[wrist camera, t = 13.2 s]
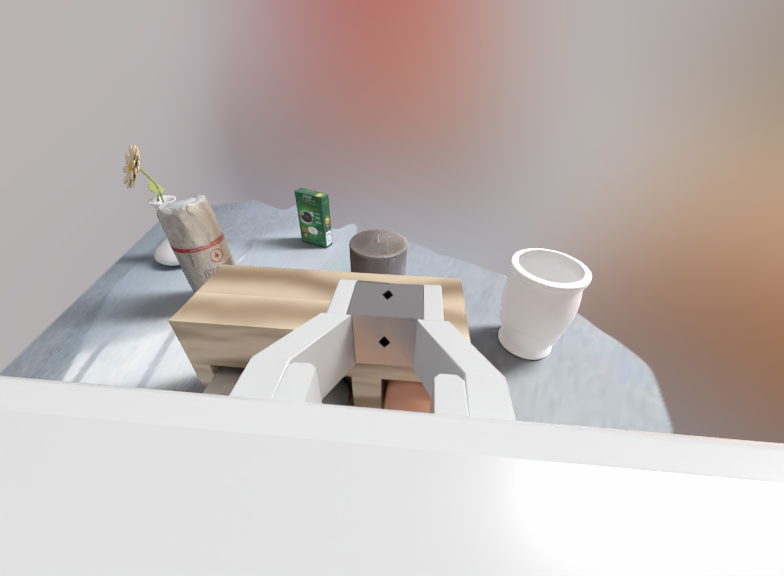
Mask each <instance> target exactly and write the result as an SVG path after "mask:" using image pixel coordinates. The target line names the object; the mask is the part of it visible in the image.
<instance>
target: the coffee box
mask: <svg viewBox="0 0 784 576" xmlns="http://www.w3.org/2000/svg"><path fill="white" fill-rule="evenodd" d="M295 196H296V203H297V210H298V217H299V223H300V229H301V236H302V241H305V242H308V243H312V244H315V245H319V246H321V247H325V248H327V247H329V246H330V245H331V244H332V234H331V223H330V210H329V198H328V194H325V193H320V192H316V191H312V190H308V189H304V188H300V189H298V190H295Z"/></svg>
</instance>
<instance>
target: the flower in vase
mask: <svg viewBox="0 0 784 576" xmlns="http://www.w3.org/2000/svg"><path fill="white" fill-rule="evenodd" d="M129 154H130V156H129ZM129 154H128V153H126V155H125V158H126V164H127V166H126V167H124V169H123V172H124V173H127V175H126V176H125V179H124V184H126V182H127V188H129V187H130V188H131V187H133V186H134V184H135V182H136V179H137V176H138V172H139V170H140V171H142V172H143V173H144V174H145V175H146V176H147V177H148V178H149V179H150V181H149V184H148V188H149V189H150V190H151V191H153V192H154V193H156V194H158V196H157V197H155V198H152V199H150V200H149V201H148V203H149V204H150V205H152V206H153V207H155V208H156V209H157V208H158V207H159V206H160V205H161V204H164V203H174V202H175V200H176V197H174V196H162V193H163V192H164V188H162V187H161V186H160V185H158V184H157V183H155V181H154V180H153V179H152V178H151V177H150V176H149V175H148V174H147V173H146V172H144V171H143V170H142V169H141V168H140V167H139V165H140V155H139V150H138V148H137V147H136V146H135V145H134V147H133V148H132V147H131V145H130V146H129ZM159 195H160V196H159ZM154 257H155V260H156V261H157V262H159V263H161V264H163V265H170V266H175V265H179V262H178V260H177V258H176V256H175V254H174V252H173V250H172V248H171V246H170V244H169V241H168V238H167V237H166V238H165V239H164V240H163V242H162V243H161V244H160V245H159V246H158V248H157V249H156V251H155V254H154Z"/></svg>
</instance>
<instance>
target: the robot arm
mask: <svg viewBox="0 0 784 576" xmlns="http://www.w3.org/2000/svg"><path fill="white" fill-rule="evenodd" d="M355 363H366V364H385V365H394V366H404V367H413V369H414V371H415V372H416V374H417V376H418V377H419V379H420V381H421V382H422V384H423V386H424V387H425V389H426V391H427V392H428V394H429V396H430V397H431V405H430V411H429V413H424V412H412V411H401V410H389V409H378V408H366V407H355V406H343V405H332V404H322V399H323V398H324V397H325V396H326V395H327V394H328V393H329V392H330V391H331V390H332V389H333V388H334V387H335V385H336V384H337V383H338V382H339V381H340V380H341V379H342V378H343V377H344V376H345V375H346V374H347V373H348V372H349V371H350V370H351V369H352V368H353V366H354V365H355ZM0 576H784V444H782V443H770V442H759V441H746V440H735V439H724V438H713V437H701V436H690V435H678V434H666V433H655V432H643V431H632V430H620V429H609V428H597V427H586V426H574V425H562V424H551V423H539V422H528V421H516V418H515V414H514V410H513V406H512V402H511V398H510V394H509V390H508V386H507V382H506V378H505V377H504V376H503V375H502V374H501V373H500V372H499V371H498V370H497V369H496V368H495V367H494V366H493V365H492V364H491V363H490V362H489V361H488V360H487V359H486V358H485V357H484V356H483V355H482V354H481V353H480V352H479V351H478V350H477V349H476V348H475V347H474V346H473V345H472V344H471V343H470V342H469V341H468V340H467V339H466V338H465V337H464V336H463V335H462V334H461V333H460V332H459V331H458V330H457V329H456V328H455V327H454V326H453V325H452V324H451V323H450V322H449V321H444V315H443V301H442V287H441V285H416V284H395V283H386V282H374V281H362V280H358V281H357V280H347V279H341V280H340V281H339V282H338V284H337V287H336V289H335V292H334V294H333V297H332V299H331V302H330V304H329V307H328V309H327V312H326V313H320V314H318V315H317V316H315V317H314V318H312V319H311V320H309V321H308V322H306V323H304V324H303V325H301V326H300V327H298V328H297V329H295V330H294V331H292V332H290V333H289V334H287V335H286V336H284V337H283V338H281V339H279V340H278V341H276V342H275V343H273V344H272V345H270V346H269V347H267V348H265V349H264V350H262V351H261V352H259V353H258V354H256V355H255V356H253V357H252V358H251V359H250V361H249V363H248V364H247V366H246V368H245V369H244V371H243V373H242V375H241V376H240V378H239V380H238V381H237V383H236V385H235V387H234V388H233V390H232V392H231V393H230V395H229V396H227V395H215V394H203V393H192V392H181V391H169V390H158V389H146V388H134V387H123V386H111V385H100V384H88V383H77V382H65V381H54V380H42V379H30V378H19V377H7V376H0Z"/></svg>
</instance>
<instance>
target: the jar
mask: <svg viewBox="0 0 784 576" xmlns="http://www.w3.org/2000/svg"><path fill="white" fill-rule="evenodd" d="M511 268H512V270H511V272H510V274H509V276H508V278H507V280H506V282H505V285H504V288H503V292H502V298H501V312H500V322H501V328H500V329H499V332H498V338H499V341H500V343H501V344H502V345H503V347H504V348H505V349H506V350H508V351H509V352H510V353H512V354H514V355H516V356H518V357H521V358H524V359H530V360H537V359H542V358H544V357H546V356H547V355H548V354H549V353H550V351H551V345H553V344H554V343H555V342H556V341H557V340H558V339H559V338H560V337H561V335H562V334H563V333H564V331H565V330H566V329H567V327H568V326H569V325H570V323H571V322H572V320H573V319H574V317H575V315H576V313H577V310H578V308H579V305H580V301H581V298H582V291H583V290H584V289H585V288H586V287H587V286H588V285H589V284H590V282H591V280H592V274H591V271H590V270H589V268H587V266H586V265H585V264H583V263H582V262H581V261H579V260H577V259H576V258H574V257H572V256H569V255H567V254H564V253H561V252H558V251H554V250H549V249H541V248H530V249H524V250H521V251H518V252H517V253H515V254H514V256H513V258H512V260H511Z"/></svg>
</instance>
